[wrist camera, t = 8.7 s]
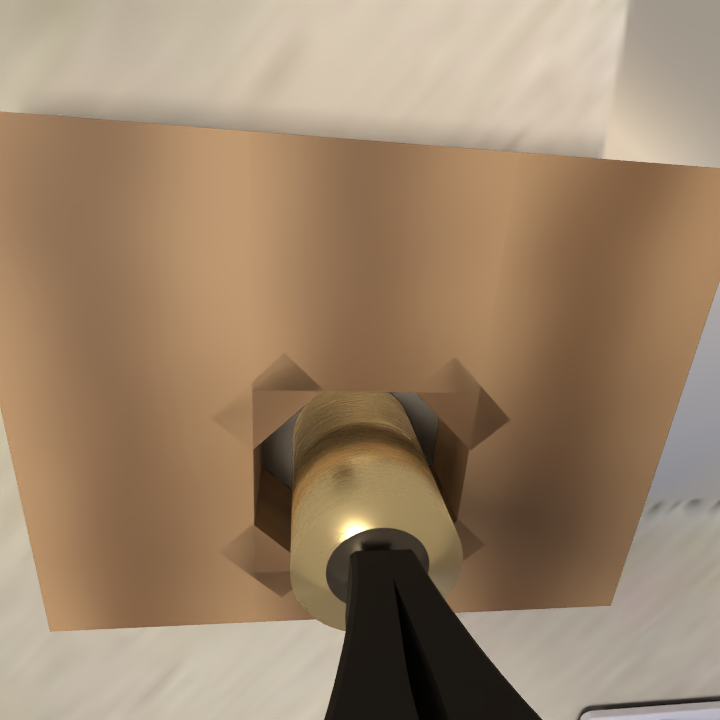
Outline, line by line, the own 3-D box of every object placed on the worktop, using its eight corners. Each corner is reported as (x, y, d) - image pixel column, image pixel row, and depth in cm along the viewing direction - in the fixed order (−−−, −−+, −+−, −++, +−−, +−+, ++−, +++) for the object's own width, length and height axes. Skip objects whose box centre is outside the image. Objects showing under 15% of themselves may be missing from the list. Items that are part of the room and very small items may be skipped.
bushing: (414, 381, 16) (473, 495, 11) (405, 482, 18) (453, 627, 12) (292, 382, 16) (288, 501, 10) (293, 486, 17) (290, 639, 12)
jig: (670, 169, 15) (756, 171, 12) (567, 543, 20) (610, 605, 17) (15, 118, 12) (-67, 106, 10) (89, 557, 17) (49, 631, 15)
